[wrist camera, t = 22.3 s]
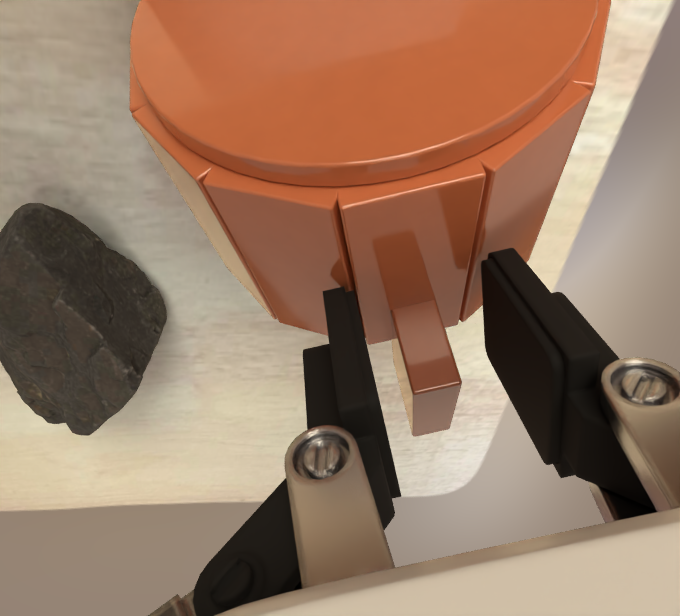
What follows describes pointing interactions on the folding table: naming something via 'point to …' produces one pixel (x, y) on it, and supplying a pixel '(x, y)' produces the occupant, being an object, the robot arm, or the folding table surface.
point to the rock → (72, 319)
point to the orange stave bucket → (368, 151)
